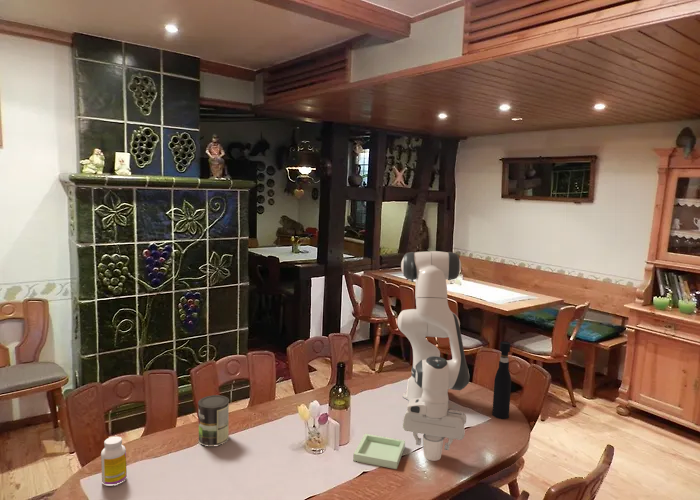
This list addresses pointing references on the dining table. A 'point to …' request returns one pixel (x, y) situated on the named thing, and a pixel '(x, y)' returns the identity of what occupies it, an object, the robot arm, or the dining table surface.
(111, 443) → the supplement bottle
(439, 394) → the robot arm
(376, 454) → the tray
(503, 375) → the wine bottle
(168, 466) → the dining table surface
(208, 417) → the coffee can
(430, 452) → the shot glass
